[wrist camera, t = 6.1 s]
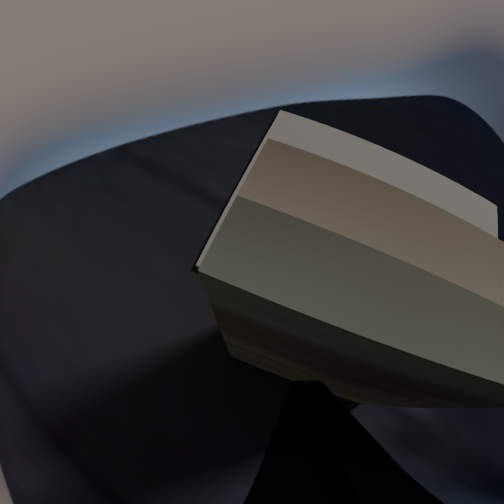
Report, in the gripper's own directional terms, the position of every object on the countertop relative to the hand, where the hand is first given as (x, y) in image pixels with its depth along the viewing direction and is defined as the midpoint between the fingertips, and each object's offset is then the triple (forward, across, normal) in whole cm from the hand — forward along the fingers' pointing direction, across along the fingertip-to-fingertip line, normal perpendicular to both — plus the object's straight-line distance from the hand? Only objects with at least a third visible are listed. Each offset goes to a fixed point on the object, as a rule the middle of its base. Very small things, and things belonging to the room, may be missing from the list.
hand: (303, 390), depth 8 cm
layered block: (+6, -1, +4) cm, 7 cm away
